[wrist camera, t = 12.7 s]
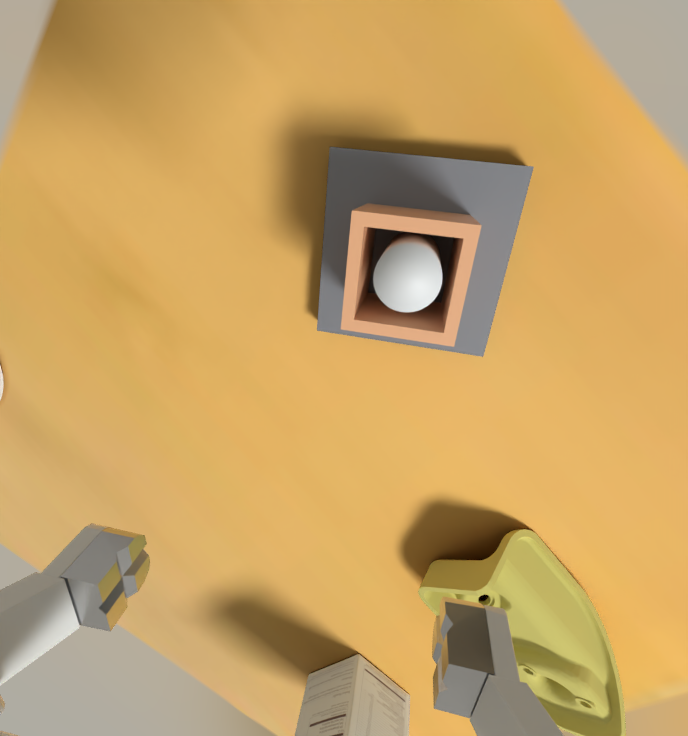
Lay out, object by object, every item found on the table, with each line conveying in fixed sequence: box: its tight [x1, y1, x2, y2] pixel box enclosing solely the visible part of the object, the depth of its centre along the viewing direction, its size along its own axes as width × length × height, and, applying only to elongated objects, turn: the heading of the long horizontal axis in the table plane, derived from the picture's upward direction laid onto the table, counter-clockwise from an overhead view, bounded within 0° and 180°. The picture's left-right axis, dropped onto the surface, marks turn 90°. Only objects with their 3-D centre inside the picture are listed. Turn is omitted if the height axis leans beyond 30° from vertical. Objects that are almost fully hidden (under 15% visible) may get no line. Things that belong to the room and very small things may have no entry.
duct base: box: [317, 147, 533, 357], centre depth 25 cm, size 12×12×8 cm
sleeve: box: [341, 203, 482, 347], centre depth 24 cm, size 6×6×6 cm
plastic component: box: [418, 529, 626, 736], centre depth 39 cm, size 20×7×10 cm
